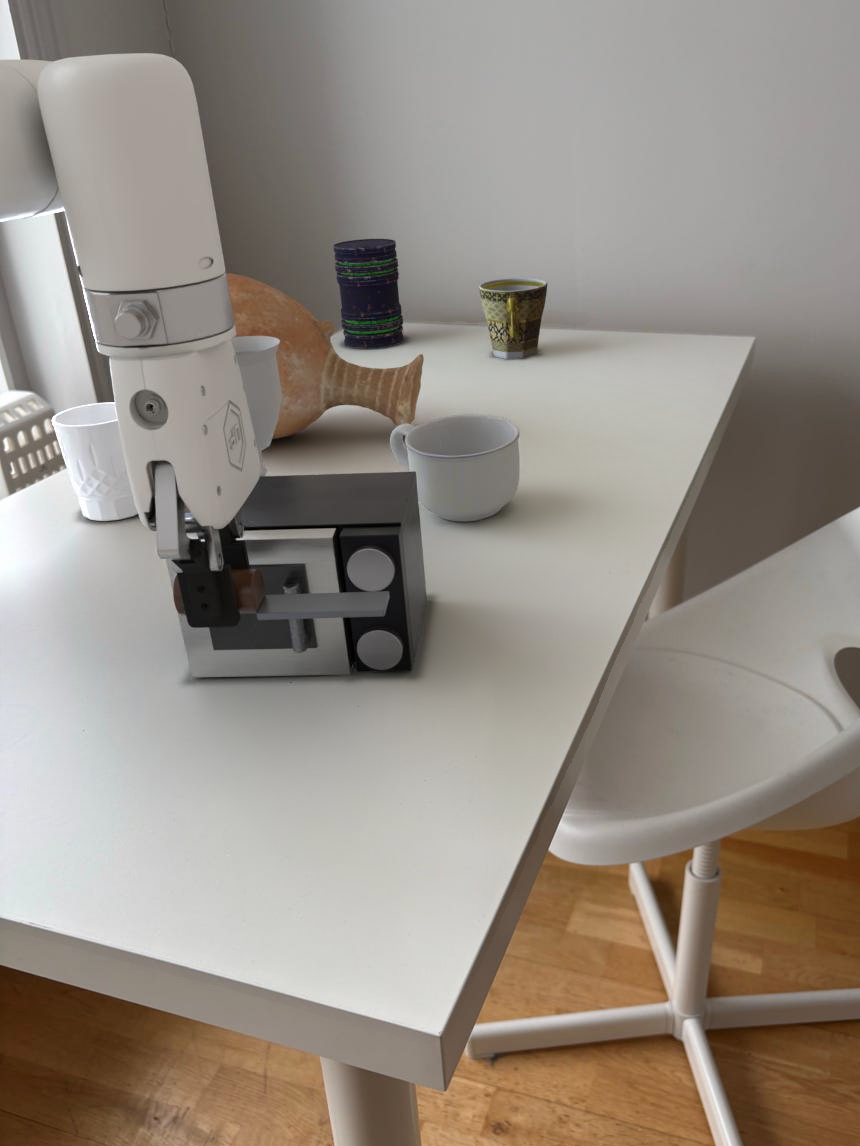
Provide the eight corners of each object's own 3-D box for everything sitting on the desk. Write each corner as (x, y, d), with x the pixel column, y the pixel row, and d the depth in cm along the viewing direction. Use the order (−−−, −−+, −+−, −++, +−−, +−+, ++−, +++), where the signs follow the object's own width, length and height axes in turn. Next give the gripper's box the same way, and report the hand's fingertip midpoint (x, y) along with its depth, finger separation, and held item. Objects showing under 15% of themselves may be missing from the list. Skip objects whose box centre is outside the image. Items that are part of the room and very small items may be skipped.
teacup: (544, 506, 99) (543, 426, 95) (464, 542, 92) (458, 457, 88) (448, 475, 107) (442, 401, 104) (368, 506, 101) (359, 428, 97)
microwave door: (346, 687, 71) (327, 547, 66) (184, 690, 72) (153, 552, 66) (353, 663, 74) (336, 527, 69) (198, 666, 75) (169, 532, 69)
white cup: (112, 529, 99) (88, 430, 94) (60, 516, 103) (34, 420, 98) (172, 502, 105) (152, 407, 100) (121, 490, 109) (99, 398, 104)
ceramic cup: (483, 347, 157) (480, 279, 152) (548, 344, 156) (546, 276, 151) (480, 368, 145) (476, 296, 140) (549, 365, 145) (548, 293, 140)
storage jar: (342, 337, 167) (330, 241, 160) (401, 332, 168) (392, 236, 161) (346, 351, 159) (334, 250, 151) (408, 345, 160) (399, 245, 153)
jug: (197, 315, 129) (432, 334, 129) (180, 459, 127) (418, 478, 126) (147, 233, 109) (424, 255, 109) (125, 402, 107) (408, 424, 107)
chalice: (249, 562, 91) (213, 360, 82) (218, 539, 95) (181, 346, 87) (321, 539, 94) (294, 344, 85) (288, 519, 99) (259, 332, 90)
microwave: (410, 679, 72) (396, 536, 66) (189, 683, 73) (158, 543, 67) (426, 599, 82) (416, 471, 77) (234, 604, 84) (210, 477, 78)
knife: (178, 623, 63) (169, 583, 62) (191, 603, 66) (183, 564, 64) (384, 617, 62) (379, 576, 61) (389, 597, 65) (385, 557, 63)
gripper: (184, 347, 48) (249, 677, 57) (264, 283, 62) (306, 556, 71) (32, 354, 49) (120, 680, 58) (145, 290, 63) (201, 559, 72)
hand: (222, 609), depth 64 cm, fingers closed on knife, 2 cm apart
